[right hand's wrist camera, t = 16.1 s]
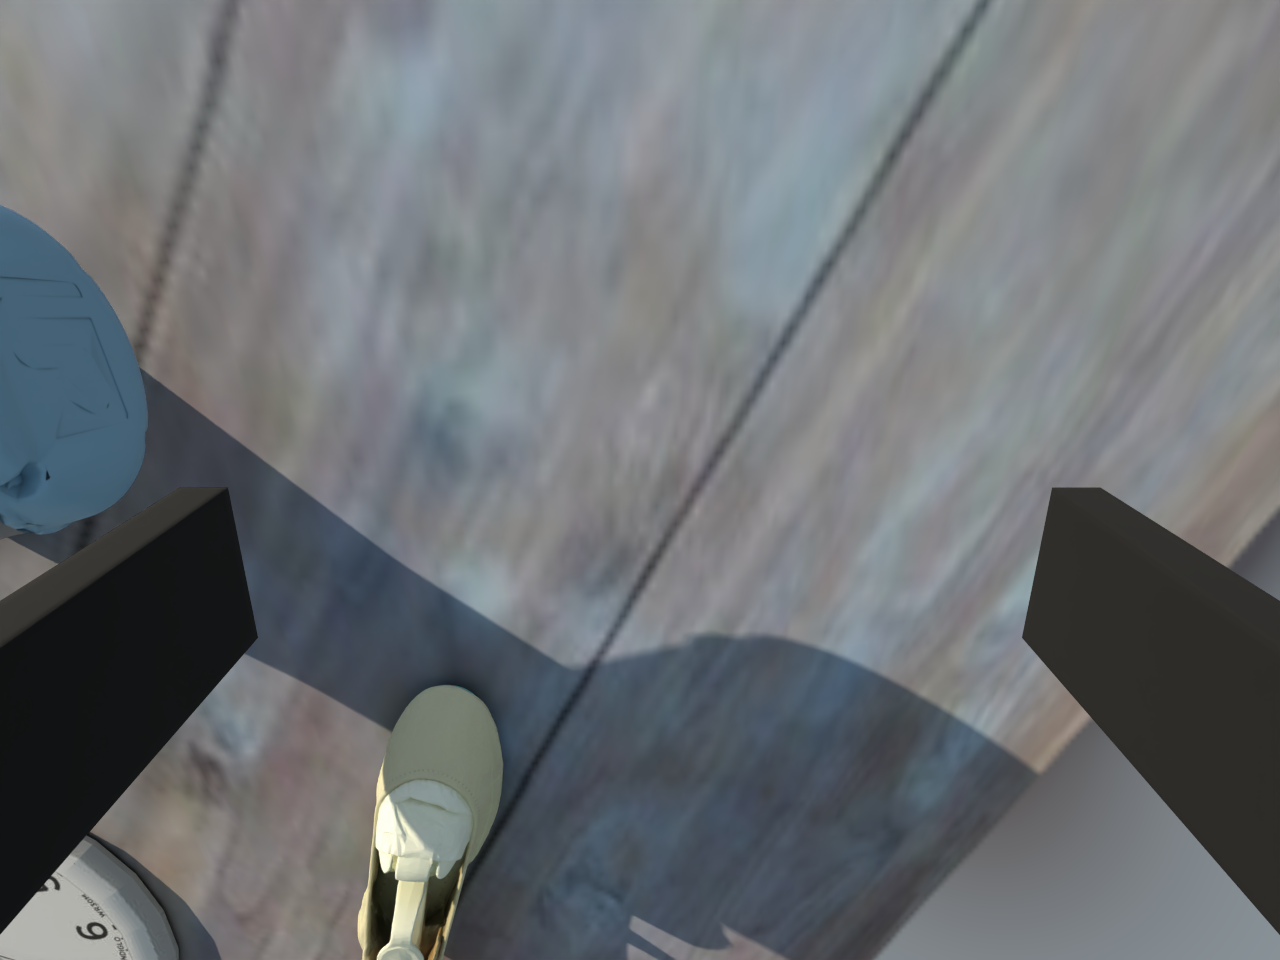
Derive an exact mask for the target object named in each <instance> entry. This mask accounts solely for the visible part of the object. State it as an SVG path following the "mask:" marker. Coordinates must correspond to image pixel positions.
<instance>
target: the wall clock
mask: <svg viewBox="0 0 1280 960" xmlns="http://www.w3.org/2000/svg"><path fill="white" fill-rule="evenodd" d="M0 960H179V948H178V945H177V943H176V940H175V938H174V935H173V933H172V930H171V928H170V925H169V922H168V920H167V917H166V915H165V912H164V910H163V909H162V908H161V906H160V905H159V904H158V902H157V901H156V900H155V898H154V897H153V896H152V894H151V893H150V892H149V891H148V889H147V888H146V887H145V885H144V884H143V883H142V881H141V880H140V879H139V877H138V876H137V875H136V874H135V873H134V872H133V871H132V870H130V869H129V868H128V867H127V866H126V865H124V864H123V863H122V862H121V861H120V860H118V859H117V858H116V857H115V856H114V855H112V854H111V853H110V852H109V851H108V850H106V849H105V848H104V847H103V846H102V845H101V844H99V843H98V842H97V841H96V840H94V839H92V838H90V837H88V836H87V835H86V836H85V838H84V839H83V840H82V841H81V842H80V843H79V845H78V846H77V847H76V848H75V849H74V850H73V851H72V853H71V854H70V855H69V856H68V857H67V858H66V860H65V861H64V862H63V863H62V864H61V865H60V866H59V868H58V869H57V870H56V871H55V872H54V873H53V875H52V876H51V877H50V878H49V879H48V880H47V881H46V883H45V884H44V885H43V886H42V887H41V888H40V889H39V891H38V892H37V893H36V894H35V895H34V896H33V898H32V899H31V900H30V901H29V902H28V903H27V904H26V906H25V907H24V908H23V909H22V910H21V911H20V913H19V914H18V915H17V916H16V917H15V918H14V919H13V921H12V922H11V923H10V924H9V925H8V926H7V928H6V929H5V930H4V931H3V932H2V933H1V934H0Z"/></svg>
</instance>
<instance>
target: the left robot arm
mask: <svg viewBox="0 0 1280 960" xmlns="http://www.w3.org/2000/svg"><path fill="white" fill-rule="evenodd" d="M147 428H148V409H147V401H146V394H145V388H144V384H143V380H142V376H141V372H140V369H139V366H138V362H137V359H136V357H135V354H134V351H133V349H132V346H131V344H130V341H129V339H128V337H127V335H126V332H125V330H124V328H123V326H122V324H121V322H120V320H119V319H118V317H117V315H116V313H115V311H114V310H113V308H112V306H111V305H110V303H109V302H108V300H107V298H106V297H105V295H104V294H103V292H102V291H101V290H100V288H99V287H98V285H97V284H96V283H95V281H94V280H93V279H92V277H91V276H89V275H88V274H87V273H86V272H85V271H84V270H83V269H82V268H81V267H80V265H79V264H78V263H77V261H76V260H75V259H74V257H73V256H72V255H71V254H70V253H69V252H68V251H67V250H66V249H65V248H64V247H63V246H62V245H61V244H60V243H59V242H58V241H56V240H55V239H54V238H53V237H52V236H50V235H49V234H48V233H47V232H45V231H44V230H43V229H41V228H40V227H39V226H37V225H36V224H35V223H33V222H32V221H30V220H28V219H27V218H25V217H23V216H21V215H20V214H18V213H16V212H15V211H12V210H10V209H8V208H6V207H3V206H1V205H0V539H3V538H7V537H11V536H15V535H20V534H24V533H35V534H39V535H43V534H50V533H55V532H57V531H60V530H62V529H64V528H65V527H67V526H69V525H70V524H71V523H72V522H75V521H78V520H81V519H84V518H88V517H91V516H93V515H96V514H98V513H100V512H102V511H104V510H106V509H107V508H109V507H111V506H112V505H114V504H115V503H116V502H117V501H118V500H119V499H120V498H122V497H123V496H124V495H125V493H126V492H127V491H128V490H129V488H130V487H131V486H132V484H133V483H134V481H135V479H136V477H137V475H138V473H139V471H140V468H141V466H142V462H143V459H144V456H145V449H146V444H145V432H146V430H147Z"/></svg>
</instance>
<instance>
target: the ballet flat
mask: <svg viewBox="0 0 1280 960" xmlns="http://www.w3.org/2000/svg"><path fill="white" fill-rule="evenodd" d="M502 778H503V759H502V751H501V745H500V740H499V735H498V731H497V727H496V725H495V722H494V720H493V718H492V716H491V714H490V711H489V709H488V708H487V706H486V705H485V704H484V702H483V701H481V700H480V699H479V698H478V697H476V696H475V695H474V694H473V693H472V692H470V691H469V690H467V689H465V688H463V687H459V686H455V685H440V686H434V687H430V688H428V689H426V690H424V691H422V692H421V693H420V694H419V695H417V696H416V697H415V698H414V699H413V700H412V701H411V702H410V703H409V705H408V706H407V707H406V708H405V710H404V712H403V713H402V715H401V716H400V718H399V720H398V722H397V723H396V725H395V727H394V729H393V732H392V734H391V736H390V738H389V742H388V746H387V748H386V753H385V757H384V761H383V765H382V768H381V771H380V775H379V779H378V783H377V804H376V808H375V816H374V829H373V841H372V849H371V859H370V869H369V881H368V888H367V889H366V891H365V894H364V897H363V901H362V907H361V909H360V912H359V916H358V939H359V942H360V945H361V947H362V949H363V956H362V960H442V959H443V956H444V952H445V948H446V945H447V941H448V937H449V933H450V929H451V926H452V922H453V919H454V915H455V911H456V907H457V903H458V900H459V896H460V892H461V888H462V884H463V881H464V877H465V873H466V870H467V866H468V864H469V863H470V862H472V861H473V859H474V858H475V857H476V855H477V854H478V852H479V851H480V849H481V847H482V845H483V843H484V841H485V840H486V838H487V836H488V834H489V832H490V829H491V826H492V824H493V822H494V820H495V817H496V814H497V811H498V807H499V802H500V797H501V791H502Z"/></svg>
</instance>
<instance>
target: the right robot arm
mask: <svg viewBox="0 0 1280 960" xmlns="http://www.w3.org/2000/svg"><path fill="white" fill-rule="evenodd" d="M257 638H258V636H257V631H256V626H255V621H254V616H253V611H252V606H251V601H250V596H249V591H248V586H247V581H246V576H245V571H244V566H243V561H242V556H241V551H240V546H239V541H238V536H237V531H236V526H235V521H234V516H233V511H232V506H231V501H230V496H229V491H228V488H178V489H177V490H175V491H174V492H172V493H170V494H169V495H167V496H166V497H164V498H162V499H161V500H159V501H158V502H156V503H155V504H153V505H151V506H150V507H148V508H147V509H145V510H143V511H142V512H140V513H139V514H137V515H136V516H134V517H132V518H131V519H129V520H128V521H126V522H124V523H123V524H121V525H120V526H118V527H117V528H115V529H113V530H112V531H110V532H109V533H107V534H105V535H104V536H102V537H101V538H99V539H98V540H96V541H94V542H93V543H91V544H90V545H88V546H86V547H85V548H83V549H82V550H80V551H79V552H77V553H75V554H74V555H72V556H71V557H69V558H67V559H66V560H64V561H63V562H61V563H60V564H58V565H56V566H55V567H53V568H52V569H50V570H48V571H47V572H45V573H44V574H42V575H41V576H39V577H37V578H36V579H34V580H33V581H31V582H29V583H28V584H26V585H25V586H23V587H22V588H20V589H18V590H17V591H15V592H14V593H12V594H10V595H9V596H7V597H6V598H4V599H3V600H1V601H0V934H1V933H2V932H3V931H4V930H5V929H6V928H7V926H8V925H9V924H10V923H11V922H12V921H13V919H14V918H15V917H16V916H17V915H18V914H19V913H20V911H21V910H22V909H23V908H24V907H25V906H26V904H27V903H28V902H29V901H30V900H31V899H32V898H33V896H34V895H35V894H36V893H37V892H38V891H39V889H40V888H41V887H42V886H43V885H44V884H45V883H46V881H47V880H48V879H49V878H50V877H51V876H52V875H53V873H54V872H55V871H56V870H57V869H58V868H59V866H60V865H61V864H62V863H63V862H64V861H65V860H66V858H67V857H68V856H69V855H70V854H71V853H72V851H73V850H74V849H75V848H76V847H77V846H78V845H79V843H80V842H81V841H82V840H83V839H84V838H85V836H86V835H87V834H88V833H89V832H90V831H91V830H92V828H93V827H94V826H95V825H96V824H97V823H98V821H99V820H100V819H101V818H102V817H103V816H104V815H105V813H106V812H107V811H108V810H109V809H110V808H111V806H112V805H113V804H114V803H115V802H116V801H117V800H118V798H119V797H120V796H121V795H122V794H123V793H124V791H125V790H126V789H127V788H128V787H129V786H130V785H131V783H132V782H133V781H134V780H135V779H136V778H137V776H138V775H139V774H140V773H141V772H142V771H143V770H144V768H145V767H146V766H147V765H148V764H149V763H150V761H151V760H152V759H153V758H154V757H155V756H156V755H157V753H158V752H159V751H160V750H161V749H162V748H163V746H164V745H165V744H166V743H167V742H168V741H169V740H170V738H171V737H172V736H173V735H174V734H175V733H176V731H177V730H178V729H179V728H180V727H181V726H182V725H183V723H184V722H185V721H186V720H187V719H188V718H189V716H190V715H191V714H192V713H193V712H194V711H195V710H196V708H197V707H198V706H199V705H200V704H201V703H202V701H203V700H204V699H205V698H206V697H207V696H208V695H209V693H210V692H211V691H212V690H213V689H214V688H215V687H216V685H217V684H218V683H219V682H220V681H221V680H222V678H223V677H224V676H225V675H226V674H227V673H228V672H229V670H230V669H231V668H232V667H233V666H234V665H235V663H236V662H237V661H238V660H239V659H240V658H241V657H242V655H243V654H244V653H245V652H246V651H247V650H248V648H249V647H250V646H251V645H252V644H253V643H254V642H255V640H256V639H257ZM1022 638H1023V639H1024V640H1025V642H1026V643H1027V644H1028V645H1029V646H1030V647H1031V648H1032V650H1033V651H1034V652H1035V653H1036V654H1037V655H1038V657H1039V658H1040V659H1041V660H1042V661H1043V662H1044V663H1045V665H1046V666H1047V667H1048V668H1049V669H1050V670H1051V672H1052V673H1053V674H1054V675H1055V676H1056V677H1057V678H1058V680H1059V681H1060V682H1061V683H1062V684H1063V685H1064V687H1065V688H1066V689H1067V690H1068V691H1069V692H1070V693H1071V695H1072V696H1073V697H1074V698H1075V699H1076V700H1077V701H1078V703H1079V704H1080V705H1081V706H1082V707H1083V708H1084V710H1085V711H1086V712H1087V713H1088V714H1089V715H1090V716H1091V718H1092V719H1093V720H1094V721H1095V722H1096V723H1097V725H1098V726H1099V727H1100V728H1101V729H1102V730H1103V731H1104V733H1105V734H1106V735H1107V736H1108V737H1109V738H1110V740H1111V741H1112V742H1113V743H1114V744H1115V745H1116V746H1117V748H1118V749H1119V750H1120V751H1121V752H1122V753H1123V755H1124V756H1125V757H1126V758H1127V759H1128V760H1129V761H1130V763H1131V764H1132V765H1133V766H1134V767H1135V768H1136V769H1137V771H1138V772H1139V773H1140V774H1141V775H1142V776H1143V778H1144V779H1145V780H1146V781H1147V782H1148V783H1149V785H1150V786H1151V787H1152V788H1153V789H1154V790H1155V791H1156V793H1157V794H1158V795H1159V796H1160V797H1161V798H1162V800H1163V801H1164V802H1165V803H1166V804H1167V805H1168V806H1169V808H1170V809H1171V810H1172V811H1173V812H1174V813H1175V814H1176V816H1177V817H1178V818H1179V819H1180V820H1181V821H1182V823H1183V824H1184V825H1185V826H1186V827H1187V828H1188V829H1189V831H1190V832H1191V833H1192V834H1193V835H1194V836H1195V838H1196V839H1197V840H1198V841H1199V842H1200V843H1201V845H1202V846H1203V847H1204V848H1205V849H1206V850H1207V851H1208V853H1209V854H1210V855H1211V856H1212V857H1213V858H1214V860H1215V861H1216V862H1217V863H1218V864H1219V865H1220V866H1221V868H1222V869H1223V870H1224V871H1225V872H1226V873H1227V875H1228V876H1229V877H1230V878H1231V879H1232V880H1233V881H1234V883H1235V884H1236V885H1237V886H1238V887H1239V888H1240V889H1241V891H1242V892H1243V893H1244V894H1245V895H1246V896H1247V898H1248V899H1249V900H1250V901H1251V902H1252V903H1253V904H1254V906H1255V907H1256V908H1257V909H1258V910H1259V911H1260V913H1261V914H1262V915H1263V916H1264V917H1265V918H1266V919H1267V921H1268V922H1269V923H1270V924H1271V925H1272V926H1273V927H1274V929H1275V930H1276V931H1277V932H1278V933H1279V934H1280V601H1279V600H1277V599H1276V598H1274V597H1273V596H1271V595H1270V594H1268V593H1266V592H1265V591H1263V590H1262V589H1260V588H1258V587H1257V586H1255V585H1254V584H1252V583H1250V582H1249V581H1247V580H1246V579H1244V578H1243V577H1241V576H1239V575H1238V574H1236V573H1235V572H1233V571H1232V570H1230V569H1228V568H1227V567H1225V566H1224V565H1222V564H1220V563H1219V562H1217V561H1216V560H1214V559H1213V558H1211V557H1209V556H1208V555H1206V554H1205V553H1203V552H1201V551H1200V550H1198V549H1197V548H1195V547H1194V546H1192V545H1190V544H1189V543H1187V542H1186V541H1184V540H1182V539H1181V538H1179V537H1178V536H1176V535H1175V534H1173V533H1171V532H1170V531H1168V530H1167V529H1165V528H1163V527H1162V526H1160V525H1159V524H1157V523H1156V522H1154V521H1152V520H1151V519H1149V518H1148V517H1146V516H1144V515H1143V514H1141V513H1140V512H1138V511H1137V510H1135V509H1133V508H1132V507H1130V506H1129V505H1127V504H1125V503H1124V502H1122V501H1121V500H1119V499H1118V498H1116V497H1114V496H1113V495H1111V494H1110V493H1108V492H1106V491H1105V490H1103V489H1102V488H1052V491H1051V496H1050V501H1049V506H1048V511H1047V516H1046V521H1045V526H1044V531H1043V536H1042V541H1041V546H1040V551H1039V556H1038V561H1037V566H1036V571H1035V576H1034V581H1033V586H1032V591H1031V596H1030V601H1029V606H1028V611H1027V616H1026V621H1025V626H1024V631H1023V636H1022Z"/></svg>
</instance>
